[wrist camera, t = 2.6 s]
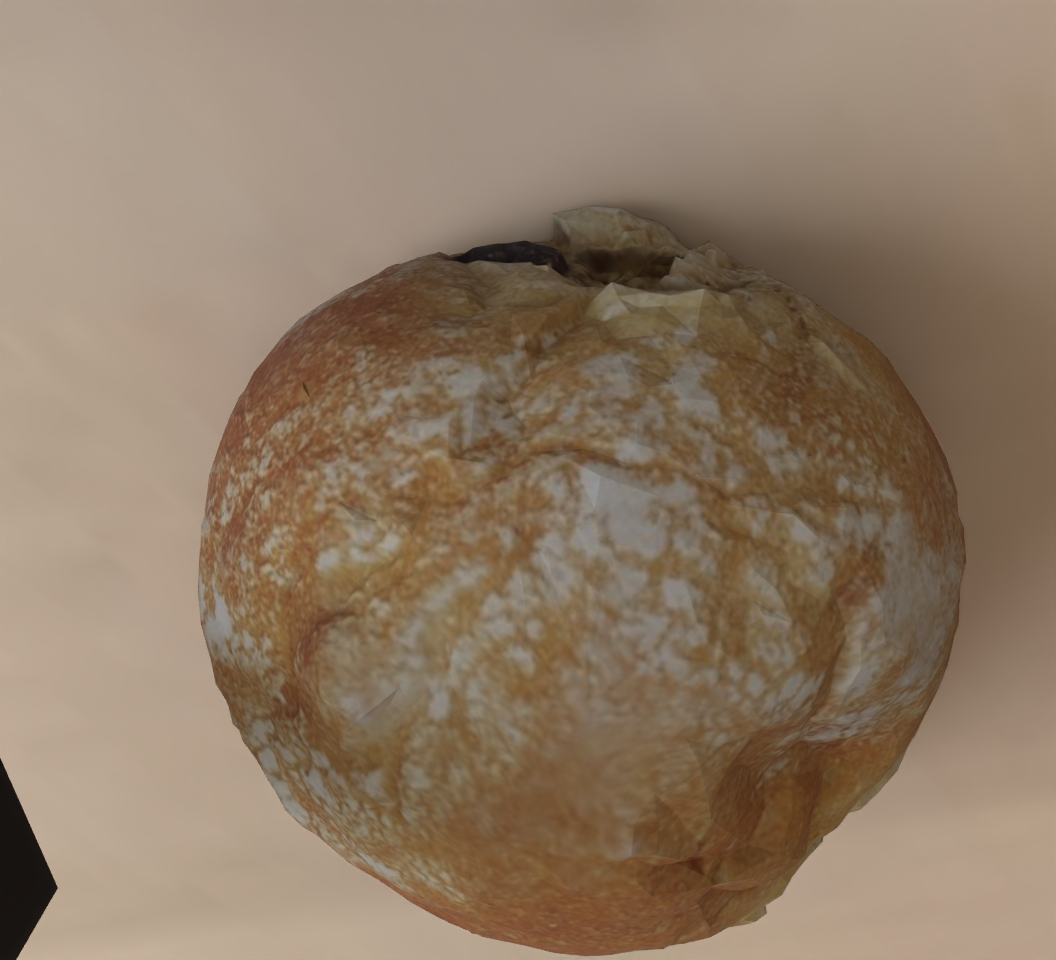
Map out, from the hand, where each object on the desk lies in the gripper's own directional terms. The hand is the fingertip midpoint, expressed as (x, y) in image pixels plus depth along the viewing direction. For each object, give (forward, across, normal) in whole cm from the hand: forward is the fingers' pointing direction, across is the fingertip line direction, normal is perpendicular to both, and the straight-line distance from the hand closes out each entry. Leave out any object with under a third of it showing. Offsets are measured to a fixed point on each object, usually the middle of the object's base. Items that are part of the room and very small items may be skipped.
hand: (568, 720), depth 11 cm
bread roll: (+5, 0, 0) cm, 5 cm away
